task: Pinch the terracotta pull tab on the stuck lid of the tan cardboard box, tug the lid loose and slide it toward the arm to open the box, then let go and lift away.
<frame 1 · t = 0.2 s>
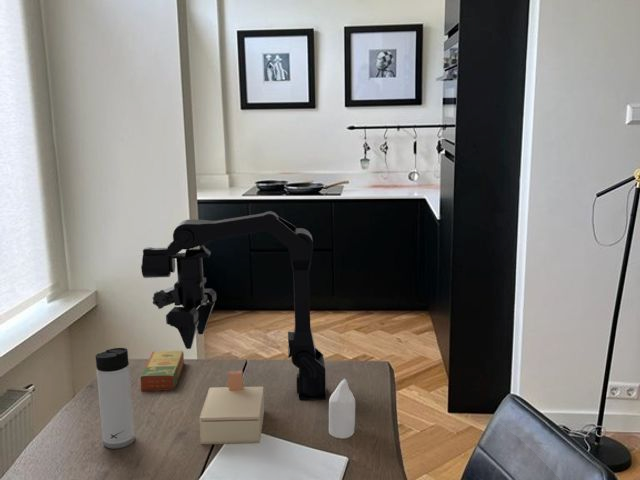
hand: (194, 341, 146), 14 cm above the table, tool pointing down, fingers open, 9 cm apart
lid panel: (232, 394, 134), point 8 cm above the table, slide at 0.0 cm
carton: (163, 378, 161), on the table
kraft box: (234, 426, 135), on the table
travel mug: (119, 442, 130), on the table
white pointed cylinder: (342, 432, 133), on the table
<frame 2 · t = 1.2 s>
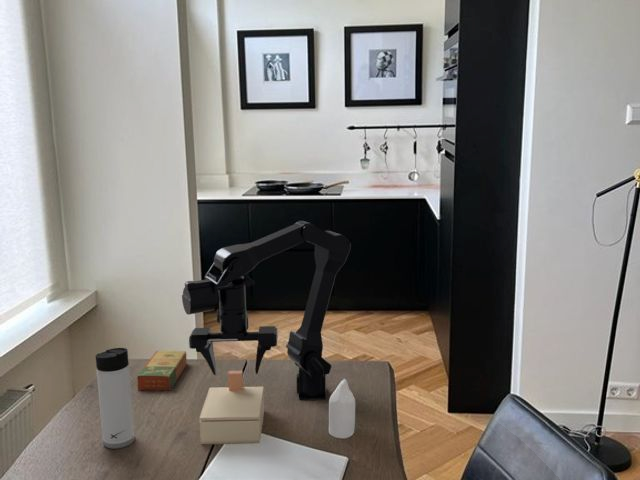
hand: (235, 373, 139), 10 cm above the table, tool pointing down, fingers open, 9 cm apart
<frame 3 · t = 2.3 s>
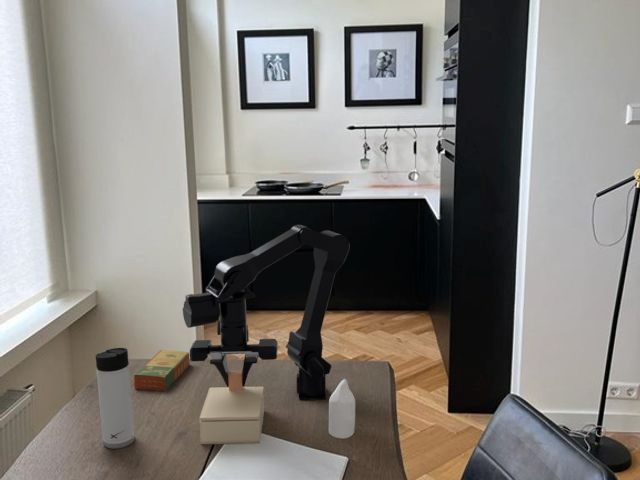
hand: (236, 386, 140), 7 cm above the table, tool pointing down, fingers closed on lid panel, 3 cm apart
lid panel: (232, 394, 134), point 8 cm above the table, slide at 0.0 cm, touching gripper
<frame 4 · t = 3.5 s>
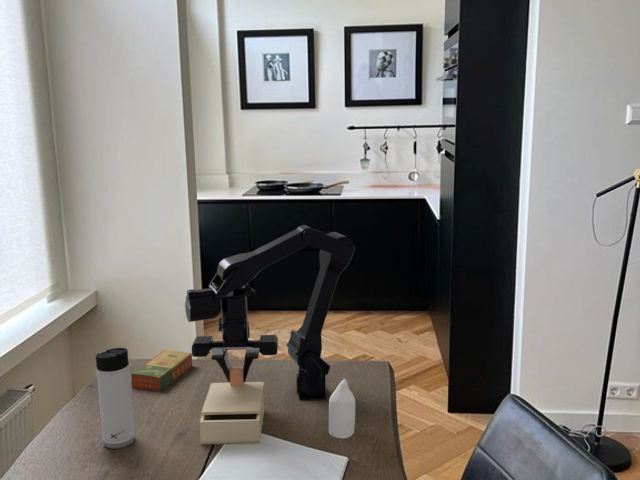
hand: (237, 381, 142), 7 cm above the table, tool pointing down, fingers closed on lid panel, 3 cm apart
lid panel: (234, 388, 136), point 8 cm above the table, slide at 2.4 cm, touching gripper
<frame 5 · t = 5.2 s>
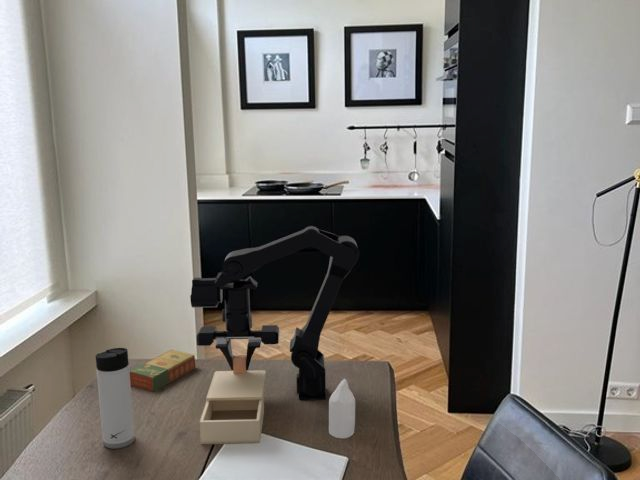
hand: (240, 369, 148), 7 cm above the table, tool pointing down, fingers closed on lid panel, 3 cm apart
lid panel: (237, 376, 142), point 8 cm above the table, slide at 8.9 cm, touching gripper
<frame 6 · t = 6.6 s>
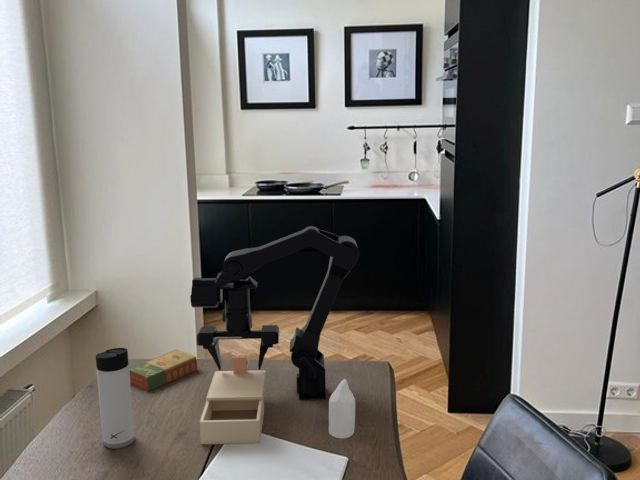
hand: (240, 369, 148), 7 cm above the table, tool pointing down, fingers open, 9 cm apart
lid panel: (237, 376, 142), point 8 cm above the table, slide at 8.9 cm
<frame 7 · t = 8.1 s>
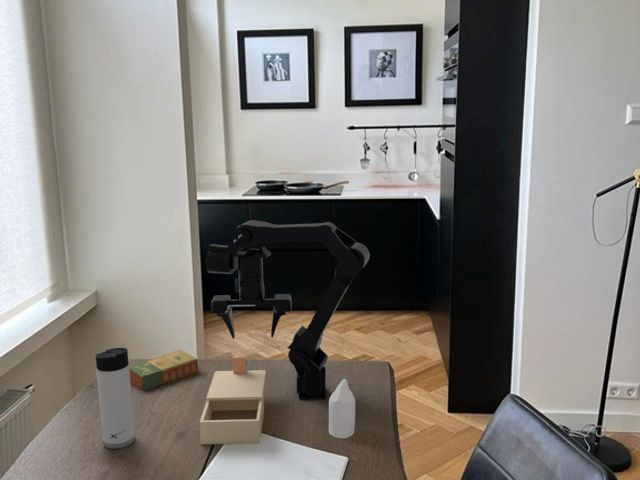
hand: (253, 337, 151), 13 cm above the table, tool pointing down, fingers open, 9 cm apart
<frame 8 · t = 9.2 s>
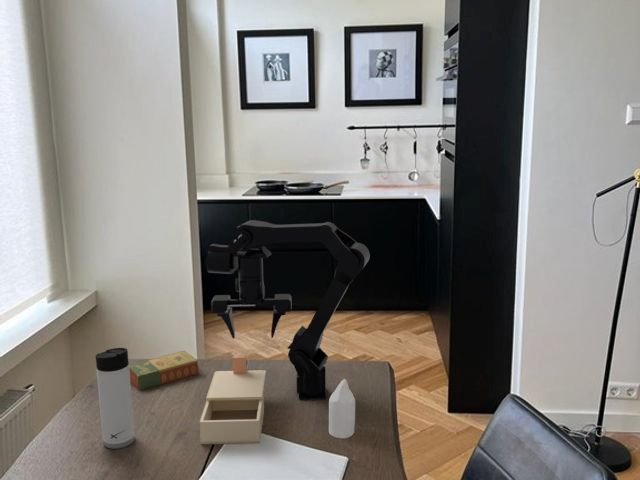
hand: (253, 337, 151), 13 cm above the table, tool pointing down, fingers open, 9 cm apart
at the end: lid panel slide at 8.9 cm; the gripper is holding nothing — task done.
